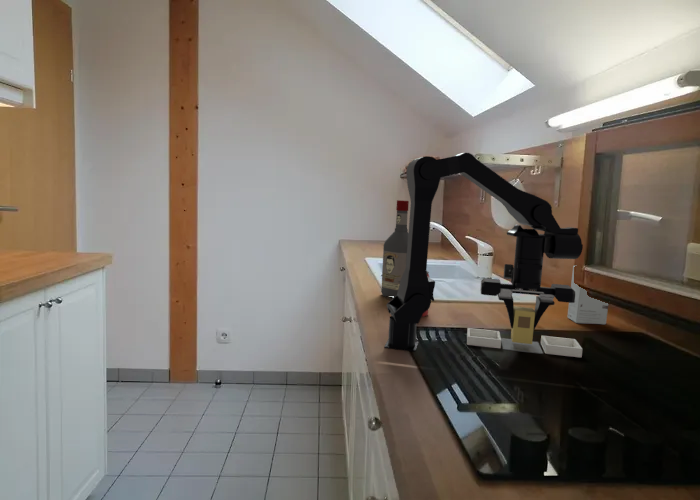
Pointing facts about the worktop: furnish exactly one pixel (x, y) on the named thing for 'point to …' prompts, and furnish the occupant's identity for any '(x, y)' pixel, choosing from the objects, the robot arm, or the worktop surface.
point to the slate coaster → (521, 346)
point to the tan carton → (523, 325)
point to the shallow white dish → (483, 338)
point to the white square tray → (561, 346)
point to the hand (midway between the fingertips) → (522, 328)
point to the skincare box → (586, 307)
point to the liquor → (395, 252)
